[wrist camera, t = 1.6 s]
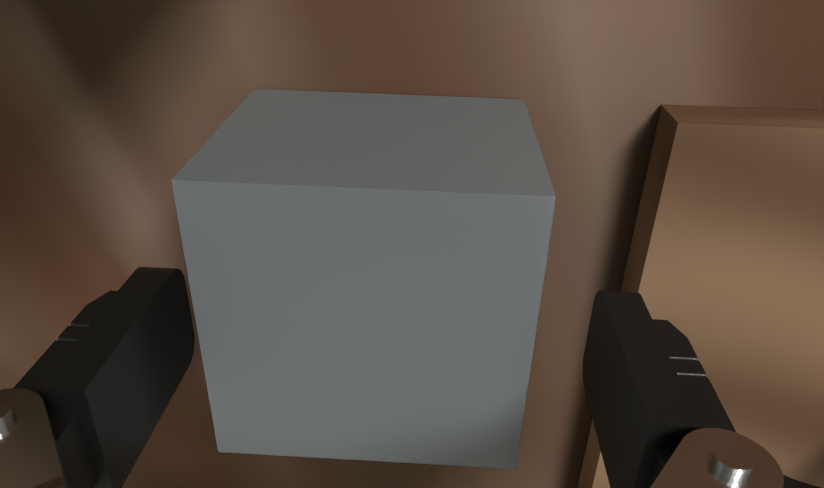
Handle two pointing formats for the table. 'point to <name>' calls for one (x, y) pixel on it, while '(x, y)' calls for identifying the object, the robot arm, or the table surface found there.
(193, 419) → the table surface
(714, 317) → the wooden square tile
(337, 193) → the matte grey cube
